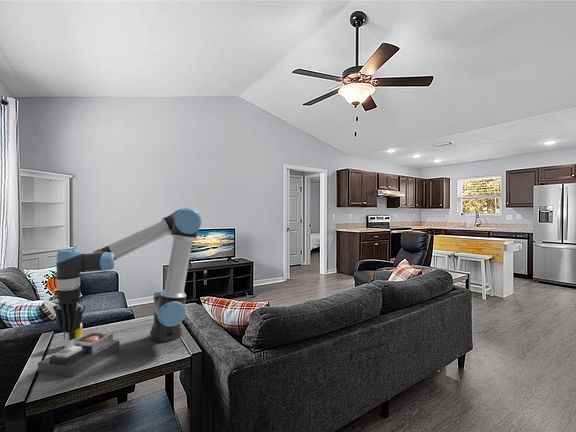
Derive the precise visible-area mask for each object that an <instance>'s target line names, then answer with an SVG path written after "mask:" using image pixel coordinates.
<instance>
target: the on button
mask: <svg viewBox="0 0 576 432" xmlns="http://www.w3.org/2000/svg"><path fill="white" fill-rule="evenodd" d="M81 350H82V347H80V346H73V347H71V348H69V349H65V348H64V349H61V350H60V351H58V352H56V353H54V355H55V357H59V358H67V357H69V356H71V355H73V354H75V353H77V352H79V351H81Z"/></svg>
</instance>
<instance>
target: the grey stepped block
mask: <svg viewBox="0 0 576 432" xmlns="http://www.w3.org/2000/svg"><path fill="white" fill-rule="evenodd" d="M91 336H99V340H97V341H95V342H93V343H90V342H85V339H86V338H88V337H91ZM74 346H80V347H82V350H81V351H79V352H77V353H75V354H73V355H71V356H69V357H67V358H59V357H55V354H53V355H51V356H49V357H47V358H45V359H42V360H40V361H38V362H37V373H38V374H44V375H52V376H54V375H55V376H62V377H68V378H69V377H70V378H75V377H76V376H78V375H79V374H81V373H82V372H84V371H86V370H87V369H90V367H93V366H95V365H96V364H98V363H100V362H101V361H103V360H104V359H106V358H108V357H110V356H111V355H113V354H114V353H116V352H118V351H119V350H120V340H115V339H114V333H113V332H112V333H109V332H101V331H99V332H98V331H90V332H89V333H86V334H84V335H82V337H80V338H77V339H75V340H74Z"/></svg>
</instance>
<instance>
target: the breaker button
mask: <svg viewBox="0 0 576 432" xmlns="http://www.w3.org/2000/svg"><path fill="white" fill-rule="evenodd" d="M97 340H99V336H91V337H88V338H86V339H85V342H90V343H93V342H95V341H97Z"/></svg>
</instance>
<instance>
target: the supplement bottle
mask: <svg viewBox="0 0 576 432" xmlns="http://www.w3.org/2000/svg"><path fill="white" fill-rule="evenodd" d="M82 336H83V323H82V322H81V325H80V328H79V329H77V330H75V339H77V338H80V337H82ZM75 339H74V340H75Z"/></svg>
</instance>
